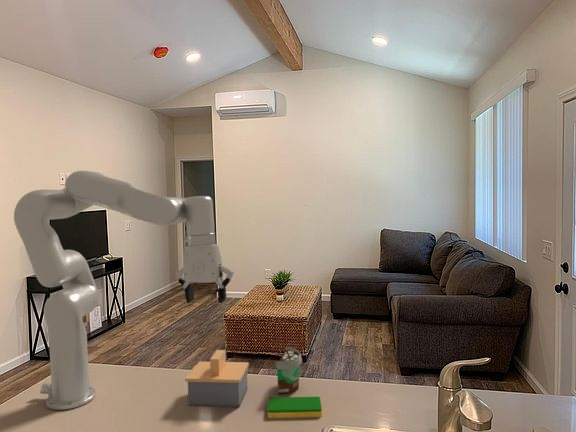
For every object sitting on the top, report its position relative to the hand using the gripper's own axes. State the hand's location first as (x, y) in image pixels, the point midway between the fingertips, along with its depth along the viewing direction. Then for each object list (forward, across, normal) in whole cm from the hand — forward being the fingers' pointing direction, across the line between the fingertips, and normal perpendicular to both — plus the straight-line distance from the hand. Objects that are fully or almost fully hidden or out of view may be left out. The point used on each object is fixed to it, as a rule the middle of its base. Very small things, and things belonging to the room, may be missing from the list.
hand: (206, 301), depth 119 cm
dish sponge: (+29, +24, -2) cm, 38 cm away
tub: (+28, +2, +1) cm, 28 cm away
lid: (+22, +2, +1) cm, 22 cm away
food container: (+29, +20, +11) cm, 37 cm away
